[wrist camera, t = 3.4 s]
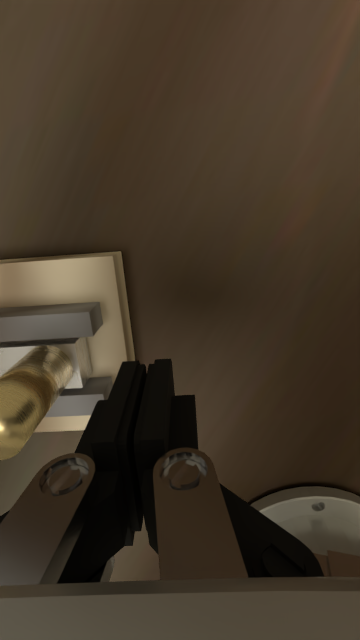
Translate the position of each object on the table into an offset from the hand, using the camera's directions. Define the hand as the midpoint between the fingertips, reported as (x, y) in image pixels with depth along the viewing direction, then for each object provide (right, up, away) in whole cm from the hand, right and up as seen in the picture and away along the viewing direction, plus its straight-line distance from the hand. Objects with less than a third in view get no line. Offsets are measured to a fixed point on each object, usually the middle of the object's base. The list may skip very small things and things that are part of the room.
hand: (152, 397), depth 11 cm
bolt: (-8, +1, +6) cm, 10 cm away
